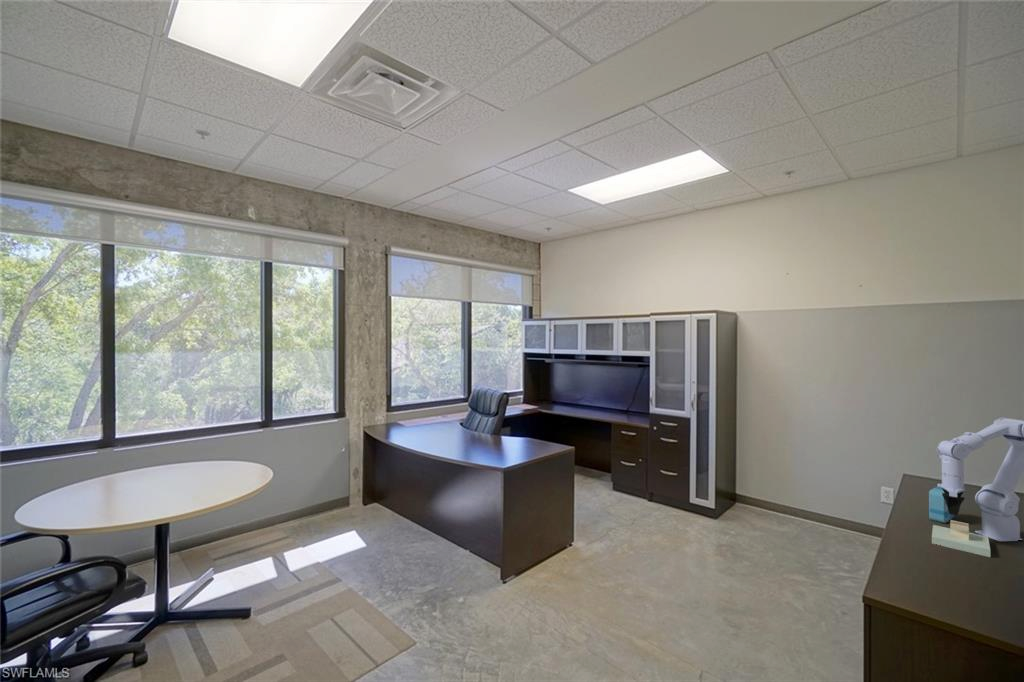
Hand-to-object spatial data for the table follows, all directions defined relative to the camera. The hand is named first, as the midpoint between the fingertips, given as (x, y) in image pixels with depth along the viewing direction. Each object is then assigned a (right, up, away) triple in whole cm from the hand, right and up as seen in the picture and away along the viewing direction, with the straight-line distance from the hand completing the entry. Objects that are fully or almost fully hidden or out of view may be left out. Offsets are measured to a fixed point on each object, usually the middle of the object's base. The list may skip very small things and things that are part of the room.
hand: (953, 511), depth 159 cm
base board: (-3, -9, -5) cm, 11 cm away
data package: (+12, -10, +16) cm, 22 cm away
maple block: (-3, -7, -5) cm, 9 cm away
